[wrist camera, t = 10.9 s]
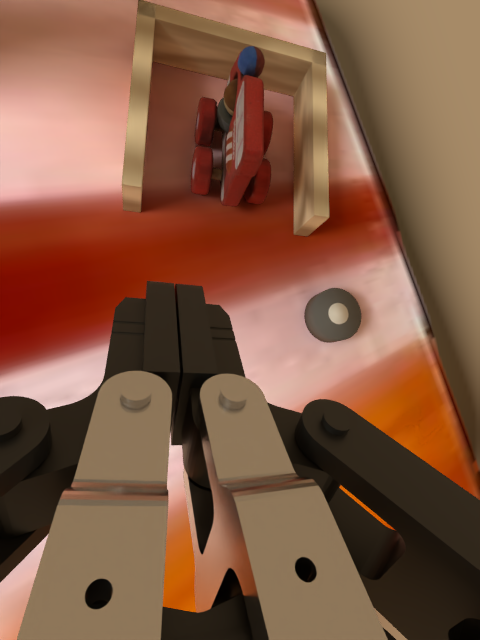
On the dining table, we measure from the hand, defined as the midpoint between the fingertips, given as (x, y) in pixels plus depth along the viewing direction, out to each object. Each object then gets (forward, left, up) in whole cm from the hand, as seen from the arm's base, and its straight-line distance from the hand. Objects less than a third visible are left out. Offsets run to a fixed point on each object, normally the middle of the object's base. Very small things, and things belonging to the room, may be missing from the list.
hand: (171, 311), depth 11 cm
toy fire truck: (-17, +13, -22) cm, 31 cm away
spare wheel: (+1, +18, -22) cm, 29 cm away
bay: (-18, +13, -22) cm, 31 cm away
